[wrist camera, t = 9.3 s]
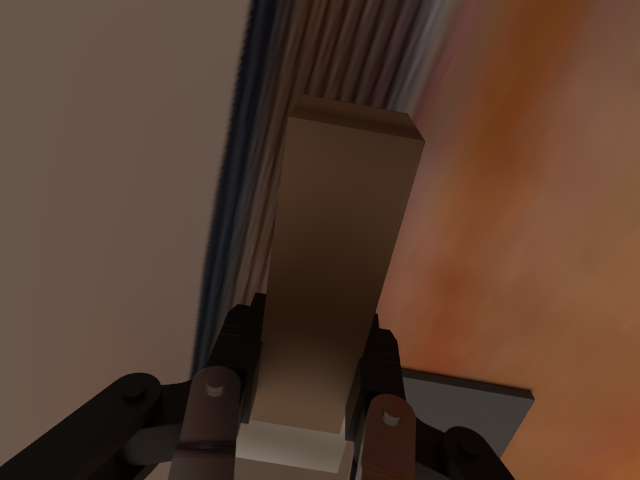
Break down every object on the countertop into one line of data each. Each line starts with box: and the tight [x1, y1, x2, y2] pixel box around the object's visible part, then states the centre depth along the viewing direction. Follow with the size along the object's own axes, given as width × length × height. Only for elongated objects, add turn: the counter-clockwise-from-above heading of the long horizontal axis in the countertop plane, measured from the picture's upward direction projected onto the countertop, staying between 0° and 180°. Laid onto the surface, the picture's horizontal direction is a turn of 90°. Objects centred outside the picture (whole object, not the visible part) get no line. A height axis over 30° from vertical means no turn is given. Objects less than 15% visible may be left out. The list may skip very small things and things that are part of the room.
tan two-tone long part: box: [236, 94, 425, 473], centre depth 14 cm, size 15×5×3 cm, turn 171°
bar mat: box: [401, 369, 535, 459], centre depth 35 cm, size 10×20×1 cm, turn 171°
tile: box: [234, 441, 354, 480], centre depth 26 cm, size 8×2×11 cm, turn 81°
